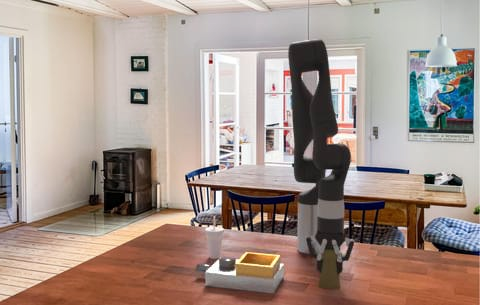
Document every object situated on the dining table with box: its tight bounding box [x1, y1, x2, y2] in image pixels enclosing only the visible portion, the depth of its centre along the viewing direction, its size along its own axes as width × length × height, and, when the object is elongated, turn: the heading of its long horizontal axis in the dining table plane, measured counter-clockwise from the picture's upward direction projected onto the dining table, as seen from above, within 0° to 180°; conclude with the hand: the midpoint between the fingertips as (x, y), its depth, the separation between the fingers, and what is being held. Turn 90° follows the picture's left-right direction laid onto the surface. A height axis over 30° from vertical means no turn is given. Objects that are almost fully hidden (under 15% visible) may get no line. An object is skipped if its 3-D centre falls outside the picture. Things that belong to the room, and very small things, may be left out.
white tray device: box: [195, 251, 284, 294], centre depth 142 cm, size 13×25×7 cm, turn 73°
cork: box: [318, 249, 341, 290], centre depth 138 cm, size 6×6×11 cm
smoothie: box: [204, 215, 225, 260], centre depth 163 cm, size 6×6×14 cm
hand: (329, 272), depth 139 cm, fingers closed on cork, 4 cm apart
